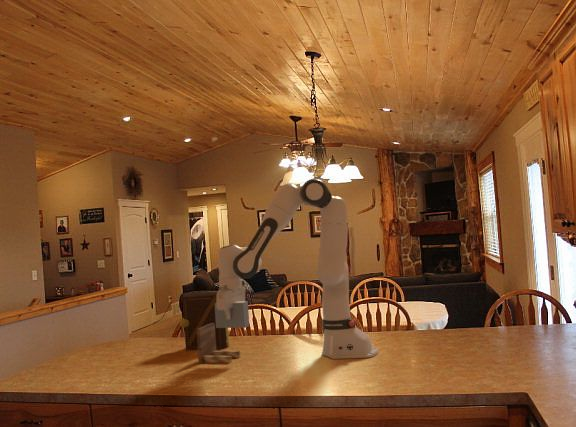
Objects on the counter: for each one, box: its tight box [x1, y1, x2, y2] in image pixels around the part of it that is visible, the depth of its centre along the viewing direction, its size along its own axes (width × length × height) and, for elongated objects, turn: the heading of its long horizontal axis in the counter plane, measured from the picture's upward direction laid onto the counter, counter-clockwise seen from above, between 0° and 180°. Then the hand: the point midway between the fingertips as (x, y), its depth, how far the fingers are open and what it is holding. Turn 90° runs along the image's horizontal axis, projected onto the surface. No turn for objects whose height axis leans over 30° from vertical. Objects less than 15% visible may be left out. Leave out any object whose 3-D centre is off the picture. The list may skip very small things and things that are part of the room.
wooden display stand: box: [196, 323, 241, 364], centre depth 222 cm, size 14×13×14 cm
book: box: [179, 291, 230, 351], centre depth 247 cm, size 22×8×25 cm, turn 84°
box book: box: [215, 300, 250, 329], centre depth 220 cm, size 13×4×10 cm, turn 70°
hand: (232, 317), depth 220 cm, fingers closed on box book, 4 cm apart
